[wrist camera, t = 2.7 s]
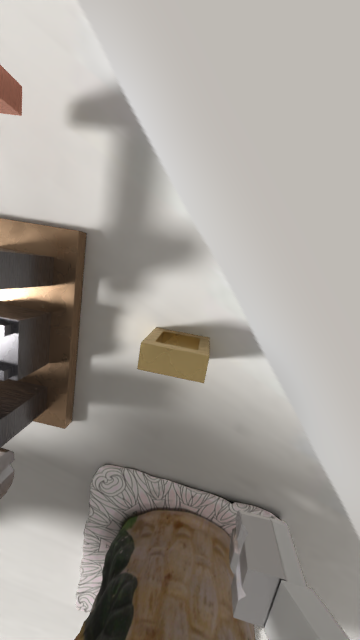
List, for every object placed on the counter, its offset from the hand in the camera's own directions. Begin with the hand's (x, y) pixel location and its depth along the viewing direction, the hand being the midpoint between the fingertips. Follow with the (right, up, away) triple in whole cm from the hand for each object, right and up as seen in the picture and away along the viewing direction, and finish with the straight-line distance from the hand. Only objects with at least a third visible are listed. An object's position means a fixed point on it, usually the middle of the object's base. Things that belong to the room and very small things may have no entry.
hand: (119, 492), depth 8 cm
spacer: (+2, +3, +18) cm, 19 cm away
